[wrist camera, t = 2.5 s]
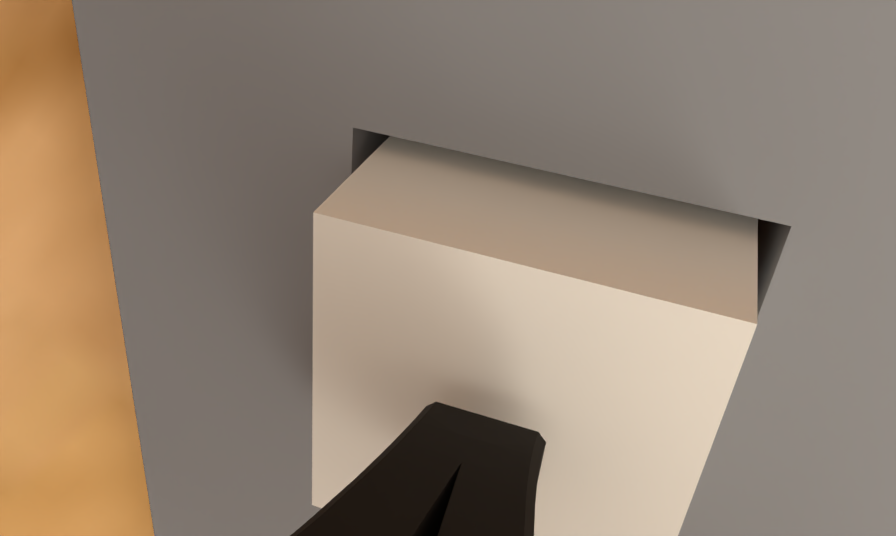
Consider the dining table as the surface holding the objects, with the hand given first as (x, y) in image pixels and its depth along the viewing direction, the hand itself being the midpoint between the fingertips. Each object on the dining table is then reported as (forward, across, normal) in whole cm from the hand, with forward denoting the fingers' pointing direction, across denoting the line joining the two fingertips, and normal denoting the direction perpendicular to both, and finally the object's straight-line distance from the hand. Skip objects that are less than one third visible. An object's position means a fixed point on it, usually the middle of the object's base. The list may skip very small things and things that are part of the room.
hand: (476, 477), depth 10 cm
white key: (+4, 0, 0) cm, 4 cm away
